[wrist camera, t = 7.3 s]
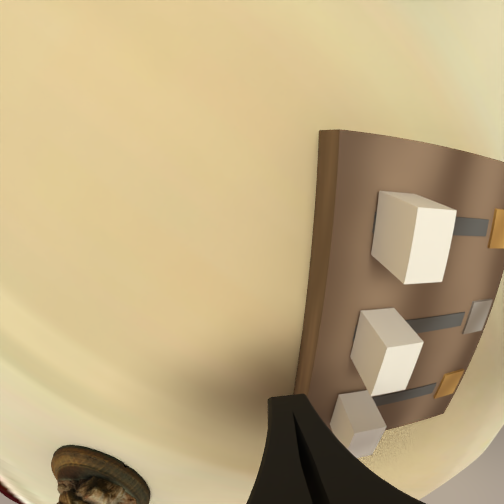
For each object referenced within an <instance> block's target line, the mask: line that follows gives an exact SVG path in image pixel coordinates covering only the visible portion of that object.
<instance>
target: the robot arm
mask: <svg viewBox="0 0 504 504" xmlns="http://www.w3.org/2000/svg"><path fill="white" fill-rule="evenodd" d="M246 504H426V503H423V502H421V501H419V500H417V499H415V498H413V497H411V496H409V495H407V494H405V493H404V492H402V491H400V490H398V489H397V488H395V487H394V486H392V485H391V484H389V483H388V482H386V481H385V480H383V479H382V478H380V477H379V476H377V475H376V474H375V473H374V472H372V471H371V470H370V469H368V468H367V467H366V466H365V465H364V464H363V463H361V462H360V461H359V460H358V459H357V458H356V457H355V456H354V455H353V454H352V453H351V452H350V451H349V450H348V449H347V448H346V447H345V446H344V445H343V444H342V443H341V442H340V441H339V440H338V439H337V437H336V436H335V435H334V434H333V433H332V431H331V430H330V429H329V428H328V427H327V425H326V424H325V423H324V421H323V420H322V419H321V417H320V416H319V415H318V413H317V412H316V410H315V409H314V407H313V406H312V404H311V403H310V401H309V399H308V398H307V396H306V395H305V394H304V393H303V394H295V395H287V396H279V397H271V398H269V399H268V432H267V438H266V444H265V449H264V453H263V457H262V461H261V465H260V468H259V472H258V475H257V478H256V481H255V484H254V486H253V489H252V491H251V494H250V496H249V499H248V501H247V503H246Z"/></svg>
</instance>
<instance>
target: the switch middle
mask: <svg viewBox="0 0 504 504" xmlns="http://www.w3.org/2000/svg"><path fill="white" fill-rule="evenodd" d="M423 343H424V342H423V340H422V339H421V338H420V337H419V336H418V335H417V333H416V332H415V331H414V330H413V329H412V328H411V326H410V325H409V324H408V323H407V322H406V321H405V320H404V318H403V317H402V316H401V315H400V314H399V313H398V312H397V311H396V309H395V308H386V309H374V310H362V311H361V312H360V317H359V321H358V326H357V330H356V335H355V339H354V343H353V348H352V352H351V356H350V357H351V359H352V361H353V363H354V365H355V367H356V369H357V371H358V373H359V375H360V377H361V378H362V380H363V382H364V384H365V386H366V388H367V390H368V392H369V394H370V396H376V395H381V394H386V393H391V392H396V391H401V390H405V389H406V386H407V384H408V382H409V379H410V377H411V374H412V372H413V369H414V367H415V364H416V362H417V359H418V356H419V354H420V351H421V348H422V345H423Z"/></svg>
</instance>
